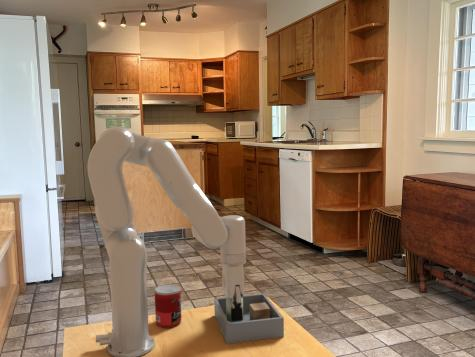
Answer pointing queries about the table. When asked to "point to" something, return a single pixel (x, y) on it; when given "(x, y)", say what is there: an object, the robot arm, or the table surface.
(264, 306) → the cube
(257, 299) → the tote
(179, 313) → the canned food
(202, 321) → the table surface
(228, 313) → the cylinder
